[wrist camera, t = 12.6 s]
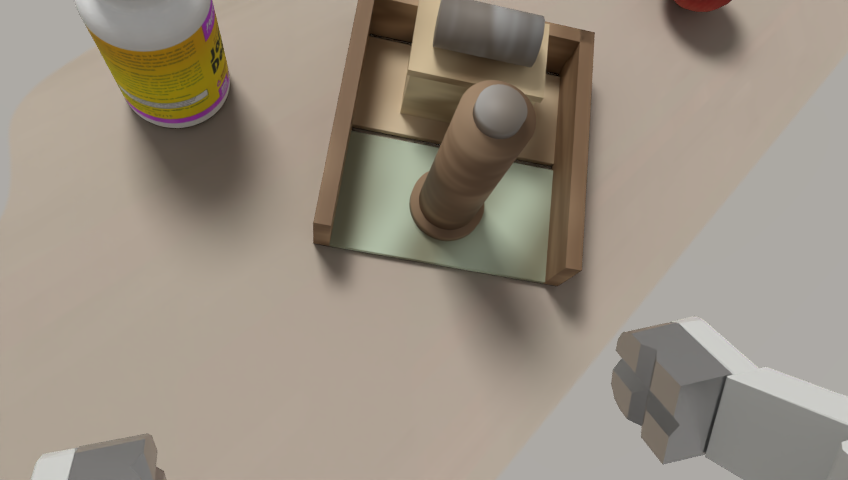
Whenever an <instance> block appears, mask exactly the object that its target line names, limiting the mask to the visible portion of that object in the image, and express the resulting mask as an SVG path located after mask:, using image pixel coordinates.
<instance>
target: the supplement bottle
mask: <svg viewBox="0 0 848 480" xmlns="http://www.w3.org/2000/svg"><path fill="white" fill-rule="evenodd" d="M74 1H75V5H76V7H77V10H78V12H79V14H80V16H81V18H82V20H83V22H84V23H85V25H86V27H87V29H88V31H89V32H90V34H91V36H92V38H93V39H94V41H95V43H96V45H97V47H98V49H99V51H100V53H101V54H102V56H103V58H104V60H105V62H106V64H107V66H108V67H109V69H110V71H111V73H112V75H113V77H114V79H115V81H116V82H117V84H118V86H119V88H120V90H121V92H122V94H123V96H124V97H125V99H126V101H127V103H128V104H129V105H130V107H131V108H132V109H133V110H134V111H135V112H136V113H137V114H138V115H139V116H140V117H142V118H143V119H145V120H147V121H149V122H151V123H153V124H156V125H159V126H163V127H169V128H184V127H189V126H193V125H196V124H199V123H201V122H203V121H205V120H207V119H209V118H210V117H212V116H213V115H214V114H215V113H216V112H217V111H218V110H219V109H220V108H221V107H222V105H223V104H224V102H225V100H226V98H227V95H228V92H229V87H230V77H229V71H228V65H227V61H226V57H225V52H224V48H223V44H222V39H221V35H220V31H219V27H218V22H217V18H216V14H215V10H214V6H213V2H212V0H74Z"/></svg>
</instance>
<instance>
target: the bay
mask: <svg viewBox="0 0 848 480" xmlns="http://www.w3.org/2000/svg"><path fill="white" fill-rule="evenodd" d="M418 3H419V0H358V4H357V9H356V14H355V18H354V23H353V28H352V33H351V38H350V43H349V48H348V53H347V58H346V63H345V68H344V73H343V78H342V83H341V88H340V93H339V98H338V103H337V108H336V113H335V118H334V123H333V128H332V133H331V138H330V143H329V148H328V153H327V158H326V162H325V167H324V172H323V177H322V182H321V187H320V192H319V197H318V202H317V207H316V212H315V217H314V222H313V243H314V244H320V245H325V246H331V247H337V248H343V249H348V250H354V251H360V252H365V253H371V254H377V255H383V256H388V257H394V258H400V259H405V260H411V261H417V262H422V263H428V264H434V265H440V266H445V267H451V268H457V269H462V270H468V271H474V272H480V273H485V274H491V275H497V276H502V277H508V278H514V279H520V280H525V281H531V282H537V283H542V284H548V285H554V286H559V285H560V284H562V283H563V282H565V281H566V280H568V279H569V278H571V277H573V276H574V275H576V274H577V273H579V272H580V271H582V256H583V238H584V219H585V201H586V182H587V164H588V145H589V127H590V108H591V90H592V72H593V53H594V35H595V32H590V31H586V30H581V29H577V28H572V27H568V26H563V25H559V24H554V23H550V22H545V23H546V24H550V26H549V38H548V50H547V63H546V72H551V73H556V74H558V76H553V75H549V74H546V75H545V87H544V98H543V100H542V101H541V103H538V102H535V104H534V106H533V107H534V110H535V114H536V128H535V131H534V134H533V136H532V138H531V139H530V141H529V142H528V143H527V145H526V146H525V147H524V149H523V150H522V152H521V153H520V154H519V156H518V157H517V158H516V159H518V160H523V161H528V162H533V163H538V164H543V165H548V166H552V169H551V170H549V169H544V168H538V167H533V166H528V165H523V164H518V163H513V164H512V165H511V167H510V168H509V169H508V171H507V172H506V173H505V175H504V176H503V178H502V179H501V180H500V182H499V183H498V184H497V186H496V187H495V188H494V190H493V191H492V193H491V194H490V195H489V197H488V198H487V199H486V201H485V202H484V213H483V216H482V218H481V220H480V222H479V224H478V225H477V226H476V228H475V229H474V230H473V231H472V232H471V233H470V234H469V235H467V236H465V237H464V238H461V239H459V240H455V241H441V240H437V239H434V238H432V237H430V236H428V235H426V234H425V233H423V232H422V231H421V230H420V229H419V228H418V226H417V225H416V224H415V222H414V220H413V218H412V216H411V213H410V207H409V202H410V196H411V193H412V190H413V188H414V185H415V184H416V182H417V181H418V179H419V178H420V177H421V176H422V175H423V174H425V173H426V172H428V171H429V170H430V168H431V166H432V164H433V161H434V159H435V157H436V154H437V152H438V150H439V148H437V147H431V146H426V145H421V144H416V143H411V142H406V141H401V140H396V139H391V138H386V137H381V136H375V135H370V134H365V133H360V132H355V131H351V130H352V127H355V128H360V129H365V130H370V131H375V132H380V133H386V134H391V135H396V136H401V137H406V138H411V139H416V140H421V141H426V142H431V143H436V144H441V143H442V141H443V138H444V136H445V134H446V132H447V129H448V127H449V125H450V123H446V122H441V121H436V120H431V119H426V118H421V117H416V116H411V115H406V114H401V113H400V110H401V104H402V98H403V92H404V86H405V80H406V74H407V68H408V62H409V56H410V50H411V46H412V45H408V44H404V43H399V42H394V41H389V40H385V39H380V38H375V37H371V36H369V35H370V34H374V35H378V36H383V37H388V38H392V39H397V40H402V41H406V42H411V43H412V40H413V34H414V28H415V22H416V16H417V9H418Z"/></svg>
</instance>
